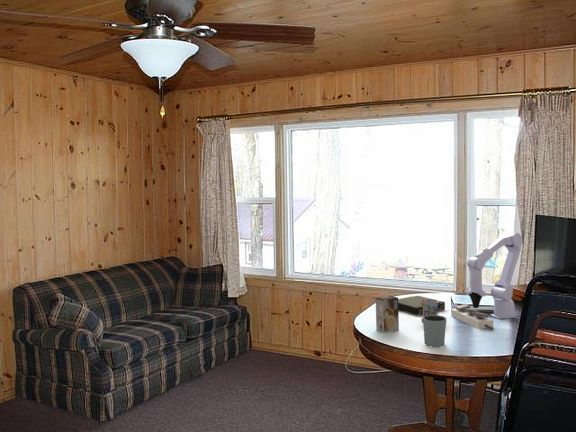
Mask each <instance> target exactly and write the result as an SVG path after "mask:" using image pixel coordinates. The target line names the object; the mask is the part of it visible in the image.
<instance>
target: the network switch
mask: <svg viewBox="0 0 576 432" xmlns="http://www.w3.org/2000/svg"><path fill="white" fill-rule="evenodd" d="M423 299H431V298H429V297H427V296H426V297H425V296H422V295H413V296H408V297H401V298H398V311H402V312H404V313H408V314H411V315H415V316H420V315H423V308H422V304H421V302H420V301H421V300H423ZM438 301H439V304H438V306H437V311H440V310H443V311H444V310H446V309H445V308H446V302H445V301H442V300H438Z"/></svg>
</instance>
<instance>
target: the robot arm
mask: <svg viewBox="0 0 576 432" xmlns="http://www.w3.org/2000/svg"><path fill="white" fill-rule="evenodd" d="M523 242H524V240H523V236H522V235H521V233H519V232H511V231H510V232H508V231H502V232H501V233H500V234H499V235H498V238H496V240H494V242H493V243H491V244H490V246H488V247H484V248H482V249H481V250H480V251H479V252H478V253H477V254H475V256H471V257H470V258H469V259H468V261H467V262H466V264H467V267H468V271H469V286H466V292H469V293H468V296H469V298H470V300H471V303H472V307H473V308H472V309H478V308H479V307H480V304H481V300H482V298H484V297H486V296H487V292H485V291H484V290H483V269H484V267H485V265H486V263H487V262H488V261H489V260H490V259H491V258H492V257H493V258H494V253H495V252H497V251H498V250H500V249H501V248H502V247H503V246H504V247H505V248H506V249H507V251H508V252H507V255H506V258H505V262H504V264H503V266H502V267H503V268H502V271H501V274H500V276H499V279H498V280H496V281H495V282H494V284H493V286H492V287H491V289H490V296H491V297H493V298H492V299H493V313H491V314H490V316H492V317H494V318H496V319H498V320H502V319H515V318H516V316H515V302H514V300H512V297H513V293H514V292H513V290H514V287H513V285H512V283H511V282H512V279H513V276H514V272H515V269H516V266H517V263H518V260H519V257H520V253H521V249H522V244H523Z"/></svg>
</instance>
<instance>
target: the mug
mask: <svg viewBox="0 0 576 432" xmlns="http://www.w3.org/2000/svg"><path fill="white" fill-rule="evenodd" d="M439 301H440V300H438V299H434V298H430V299H423V300H421V301H420V302H421V304H422V308H423V313H422V317H421V318H420V320H421V321H422V322H423V317H424V316H426V315H438V314H437V312H438V310H437V306H438V304H439Z"/></svg>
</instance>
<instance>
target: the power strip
mask: <svg viewBox="0 0 576 432" xmlns="http://www.w3.org/2000/svg"><path fill="white" fill-rule="evenodd" d="M450 313H451V314H450V316H451V317H453V318H455V319H457V320H459V321H462V322H464V323H465V324H467V325H470V326H471V327H474V328H475V329H478V330H482V329H490V330H491V331H493V330H494V319H491V318H489V317H488V318H485V317H478V316H475V315H473V313H469V312H466V311H464V310H462V311H458V310H456V308H451V311H450Z"/></svg>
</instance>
